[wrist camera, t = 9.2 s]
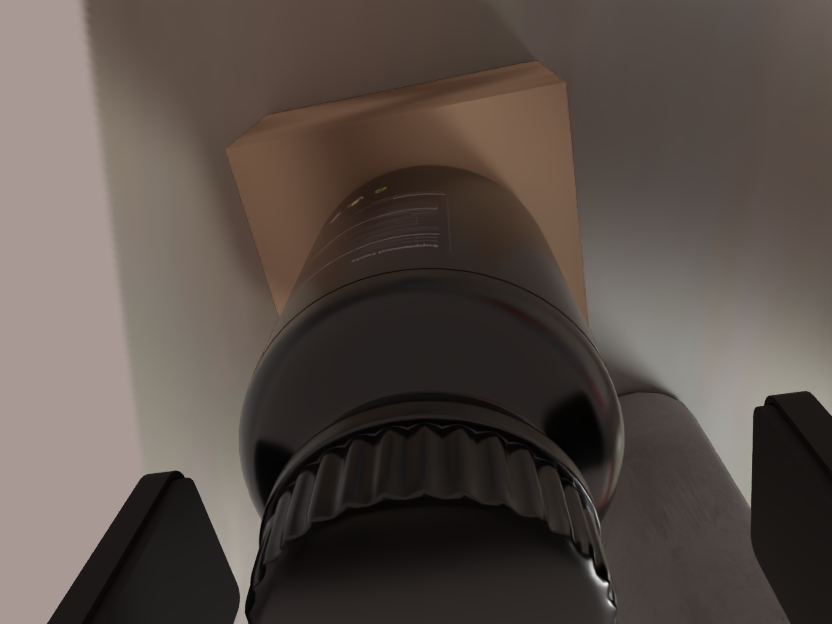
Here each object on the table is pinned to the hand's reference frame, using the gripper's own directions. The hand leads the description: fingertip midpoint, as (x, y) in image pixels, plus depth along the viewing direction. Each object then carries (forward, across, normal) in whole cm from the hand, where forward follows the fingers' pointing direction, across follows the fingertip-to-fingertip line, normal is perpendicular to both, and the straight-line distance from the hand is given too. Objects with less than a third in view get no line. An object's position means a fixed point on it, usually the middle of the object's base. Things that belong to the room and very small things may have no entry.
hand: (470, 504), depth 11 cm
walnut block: (+14, +1, -1) cm, 14 cm away
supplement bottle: (+9, +1, 0) cm, 9 cm away
